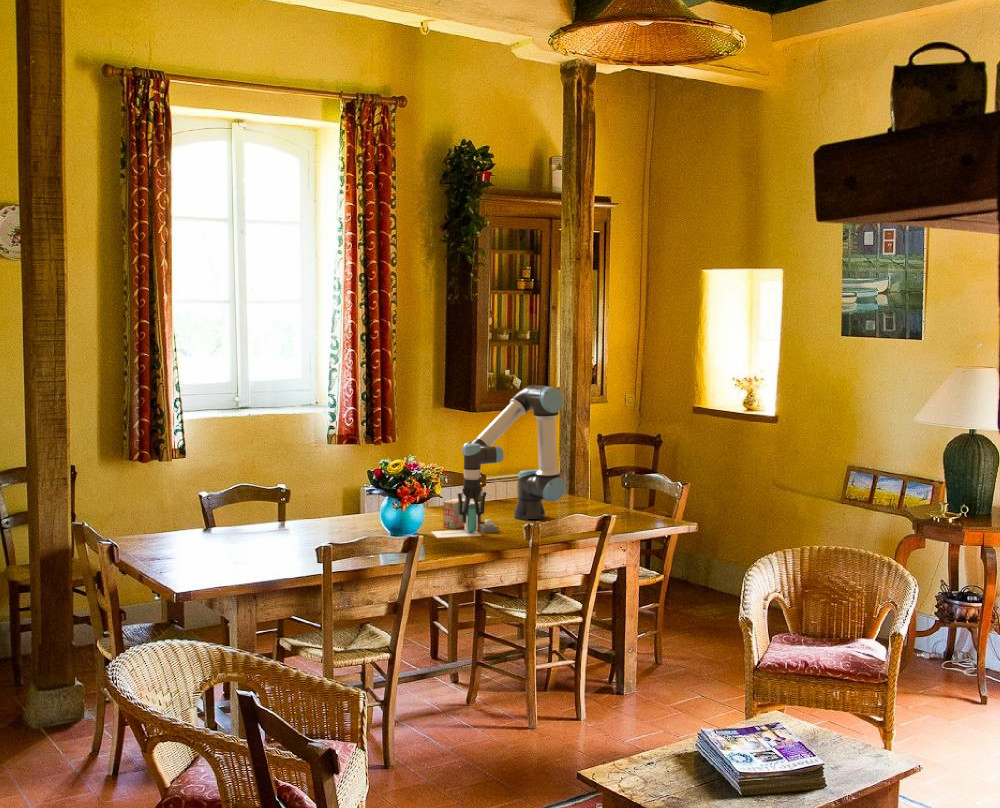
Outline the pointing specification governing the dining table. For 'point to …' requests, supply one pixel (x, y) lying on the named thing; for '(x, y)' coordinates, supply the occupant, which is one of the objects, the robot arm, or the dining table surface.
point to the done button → (488, 522)
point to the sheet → (454, 533)
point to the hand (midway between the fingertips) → (471, 529)
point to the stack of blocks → (454, 514)
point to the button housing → (488, 528)
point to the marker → (471, 517)
